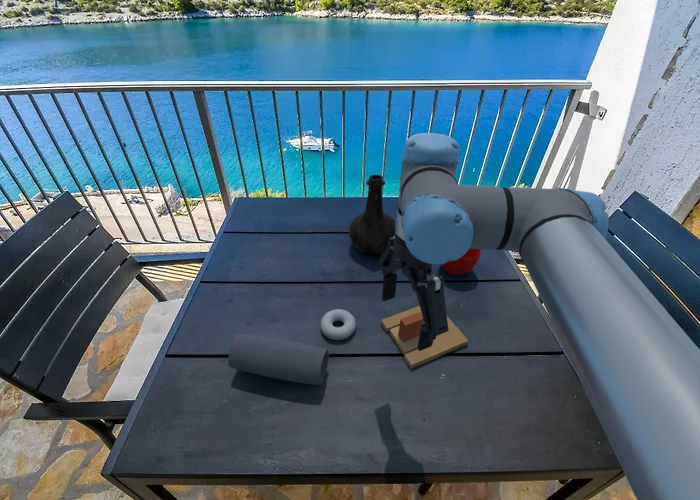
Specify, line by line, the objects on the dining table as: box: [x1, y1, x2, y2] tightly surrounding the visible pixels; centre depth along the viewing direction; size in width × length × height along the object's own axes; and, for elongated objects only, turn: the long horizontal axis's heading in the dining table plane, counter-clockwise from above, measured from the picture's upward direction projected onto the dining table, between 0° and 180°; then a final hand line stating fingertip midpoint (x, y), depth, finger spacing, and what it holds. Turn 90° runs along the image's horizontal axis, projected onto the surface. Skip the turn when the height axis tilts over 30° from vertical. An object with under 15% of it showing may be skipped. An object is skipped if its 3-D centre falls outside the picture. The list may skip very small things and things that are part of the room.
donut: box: [320, 308, 357, 341], centre depth 98 cm, size 10×3×10 cm
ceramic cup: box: [441, 248, 483, 276], centre depth 117 cm, size 13×17×10 cm
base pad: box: [380, 305, 469, 370], centre depth 97 cm, size 16×18×2 cm
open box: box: [389, 312, 424, 355], centre depth 93 cm, size 8×8×9 cm
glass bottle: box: [348, 173, 396, 256], centre depth 119 cm, size 18×18×28 cm
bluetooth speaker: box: [227, 333, 330, 386], centre depth 85 cm, size 23×9×10 cm, turn 78°
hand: (405, 321), depth 69 cm, fingers open, 13 cm apart
